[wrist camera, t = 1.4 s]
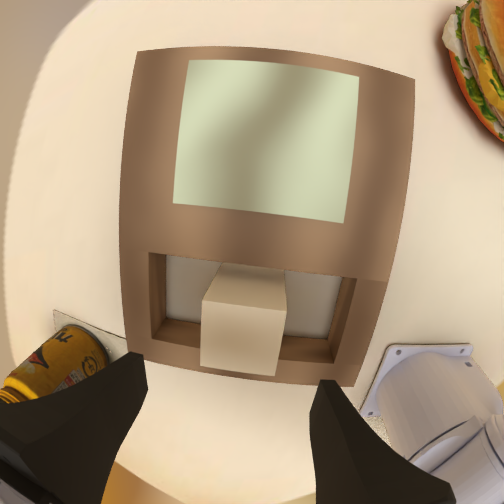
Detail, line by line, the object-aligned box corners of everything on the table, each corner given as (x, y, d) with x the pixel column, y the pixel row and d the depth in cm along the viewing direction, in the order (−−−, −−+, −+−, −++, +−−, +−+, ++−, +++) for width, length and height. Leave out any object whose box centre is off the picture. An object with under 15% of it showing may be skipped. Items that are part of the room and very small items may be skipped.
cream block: (283, 268, 19) (287, 311, 13) (275, 322, 20) (274, 376, 14) (223, 261, 19) (202, 300, 14) (219, 314, 20) (200, 365, 15)
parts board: (396, 90, 15) (417, 78, 12) (345, 362, 21) (354, 389, 18) (155, 65, 16) (135, 50, 13) (143, 334, 21) (126, 357, 18)
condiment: (54, 308, 22) (-32, 377, 10) (130, 339, 22) (52, 442, 10) (62, 366, 24) (-1, 437, 13) (131, 397, 24) (78, 490, 12)
